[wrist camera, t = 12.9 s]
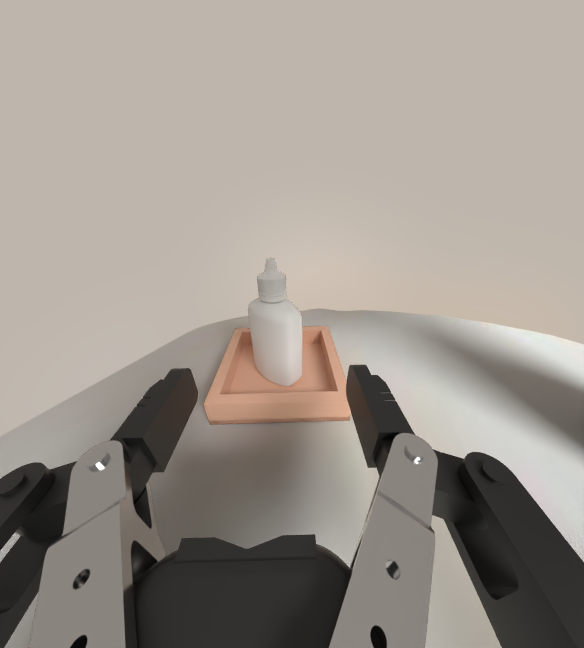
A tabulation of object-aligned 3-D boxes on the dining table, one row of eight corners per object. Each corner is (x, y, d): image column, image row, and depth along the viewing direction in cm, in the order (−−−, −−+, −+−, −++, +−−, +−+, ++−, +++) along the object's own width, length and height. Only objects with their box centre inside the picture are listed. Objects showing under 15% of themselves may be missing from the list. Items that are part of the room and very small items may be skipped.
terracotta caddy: (326, 341, 28) (327, 325, 27) (349, 420, 18) (353, 400, 17) (238, 343, 28) (235, 328, 27) (210, 424, 18) (203, 404, 17)
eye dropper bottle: (288, 352, 26) (285, 250, 20) (305, 384, 21) (308, 264, 15) (253, 360, 24) (239, 254, 19) (263, 395, 20) (248, 270, 14)
